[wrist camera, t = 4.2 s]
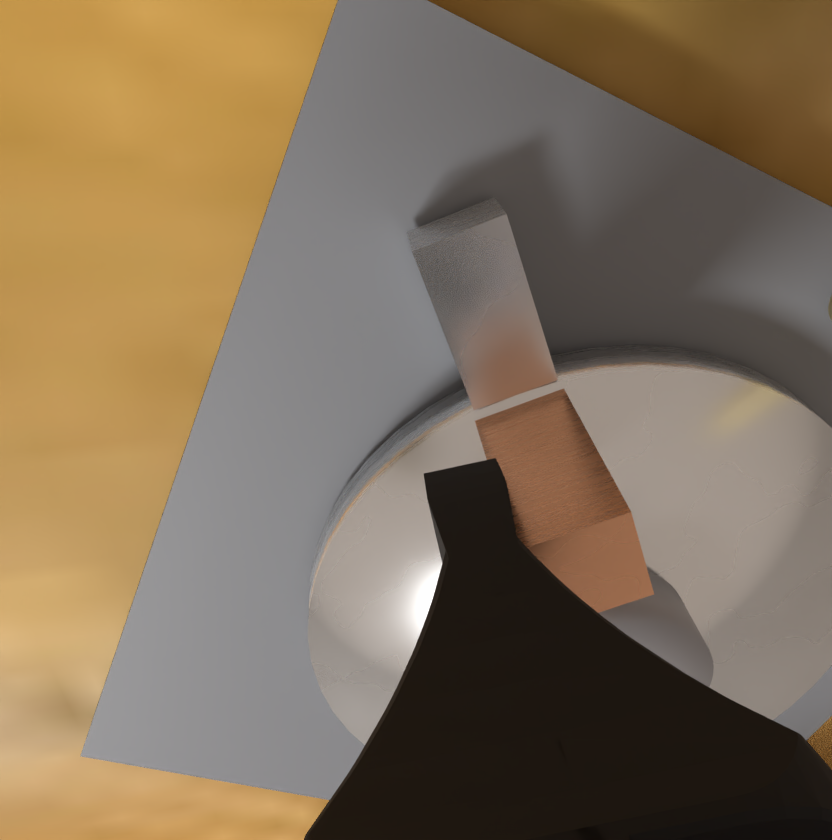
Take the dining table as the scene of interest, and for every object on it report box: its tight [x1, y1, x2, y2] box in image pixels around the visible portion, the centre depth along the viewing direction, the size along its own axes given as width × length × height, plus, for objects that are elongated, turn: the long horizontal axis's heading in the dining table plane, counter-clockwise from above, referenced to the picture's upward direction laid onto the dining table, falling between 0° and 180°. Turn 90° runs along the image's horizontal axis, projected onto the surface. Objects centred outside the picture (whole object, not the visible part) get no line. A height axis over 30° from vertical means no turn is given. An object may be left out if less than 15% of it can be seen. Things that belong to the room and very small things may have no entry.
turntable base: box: [81, 0, 832, 800], centre depth 16 cm, size 18×18×4 cm
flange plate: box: [308, 197, 832, 745], centre depth 14 cm, size 12×15×4 cm
